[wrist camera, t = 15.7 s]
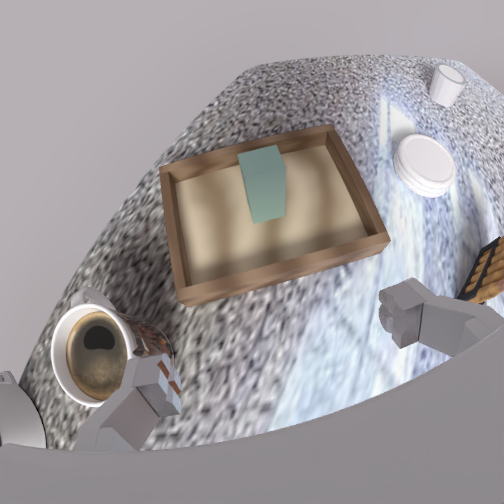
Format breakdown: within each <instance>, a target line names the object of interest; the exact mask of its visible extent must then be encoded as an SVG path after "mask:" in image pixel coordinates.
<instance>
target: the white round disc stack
mask: <svg viewBox="0 0 504 504" xmlns="http://www.w3.org/2000/svg"><path fill="white" fill-rule="evenodd" d="M394 168H395V171H396V173H397V175H398V177H399V178H400V180H401V181H402V182H403V184H404V185H405V186H406V187H408V188H409V189H410V190H412V191H413V192H415V193H416V194H419V195H421V196H424V197H428V198H435V197H439V196H441V195H443V194H444V193H445V192H446V191H447V190H448V189H449V188H450V186H451V185H452V184H453V182H454V180H455V178H456V166H455V162H454V160H453V158H452V156H451V155H450V153H449V152H448V150H447V149H446V148H445V147H444V146H443V145H442V144H441V143H439V142H438V141H436V140H435V139H433V138H431V137H429V136H426V135H422V134H410V135H407V136H406V137H404V138H403V139H402V140H401V141H400V143H399V146H398V148H397V150H396V152H395V154H394Z"/></svg>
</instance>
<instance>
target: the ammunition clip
mask: <svg viewBox="0 0 504 504" xmlns="http://www.w3.org/2000/svg"><path fill="white" fill-rule="evenodd" d="M503 291H504V236H503V237H500V236H499V237H498V238H497V239H495V240H494V241H492V242H491V243H489V244H488V245H487V246H485V247H484V248H482V249H481V251H480V253H479V255H478V258H477V260H476V262H475V264H474V266H473V268H472V271H471V273H470V275H469V277H468V279H467V281H466V283H465V285H464V287H463V289H462V290H461V292H460V294H459V296H458V298H457V299H458V300H463V301H467V302H472V303H476V304H480V305H483V304H484V303H485V301H486V300H489V299H491V298H493V297H495V296H497V295H498V294H499V293H501V292H503Z"/></svg>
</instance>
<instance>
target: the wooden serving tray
mask: <svg viewBox="0 0 504 504" xmlns="http://www.w3.org/2000/svg"><path fill="white" fill-rule="evenodd" d="M273 145H277V147H278V150H279V152H280V154H281V157H282V159H283V162H284V164H285V166H286V200H285V216H283V217H279V218H275V219H272V220H268V221H264V222H261V223H257V224H254V223H253V220H252V216H251V213H250V210H249V206H248V202H247V198H246V193H245V188H244V183H243V179H242V174H241V169H240V164H239V160H238V155H237V154H241V153H244V152H248V151H252V150H256V149H260V148H264V147H269V146H273ZM159 172H160V182H161V191H162V200H163V209H164V217H165V224H166V232H167V239H168V246H169V252H170V259H171V265H172V271H173V277H174V283H175V289H176V294H177V300H178V301H179V302H181V303H182V304H184V305H186V306H187V307H192V306H196V305H200V304H204V303H208V302H212V301H215V300H219V299H223V298H227V297H231V296H235V295H238V294H242V293H246V292H250V291H253V290H257V289H261V288H264V287H268V286H271V285H275V284H279V283H282V282H286V281H289V280H293V279H296V278H300V277H303V276H307V275H310V274H314V273H317V272H320V271H324V270H327V269H330V268H334V267H337V266H340V265H344V264H347V263H350V262H354V261H357V260H360V259H363V258H366V257H370V256H373V255H376V254H379V253H381V252H382V251H383V250H384V248H385V247H386V246H387V245H388V244H389V242H390V241H391V240H390V237H389V235H388V233H387V230H386V228H385V226H384V224H383V221H382V219H381V217H380V215H379V213H378V210H377V208H376V206H375V204H374V202H373V200H372V198H371V196H370V194H369V192H368V190H367V188H366V186H365V184H364V182H363V180H362V178H361V176H360V174H359V172H358V170H357V168H356V166H355V164H354V163H353V161H352V159H351V157H350V155H349V153H348V152H347V150H346V148H345V146H344V144H343V143H342V141H341V139H340V137H339V136H338V134H337V132H336V131H335V129H334V127H333V126H332V124H329V125H323V126H317V127H312V128H307V129H301V130H296V131H291V132H287V133H282V134H277V135H273V136H268V137H264V138H260V139H256V140H251V141H247V142H243V143H239V144H236V145H232V146H228V147H224V148H221V149H217V150H213V151H210V152H206V153H203V154H199V155H196V156H193V157H189V158H186V159H183V160H180V161H177V162H174V163H170V164H167V165H164V166H161V167H159Z"/></svg>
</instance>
